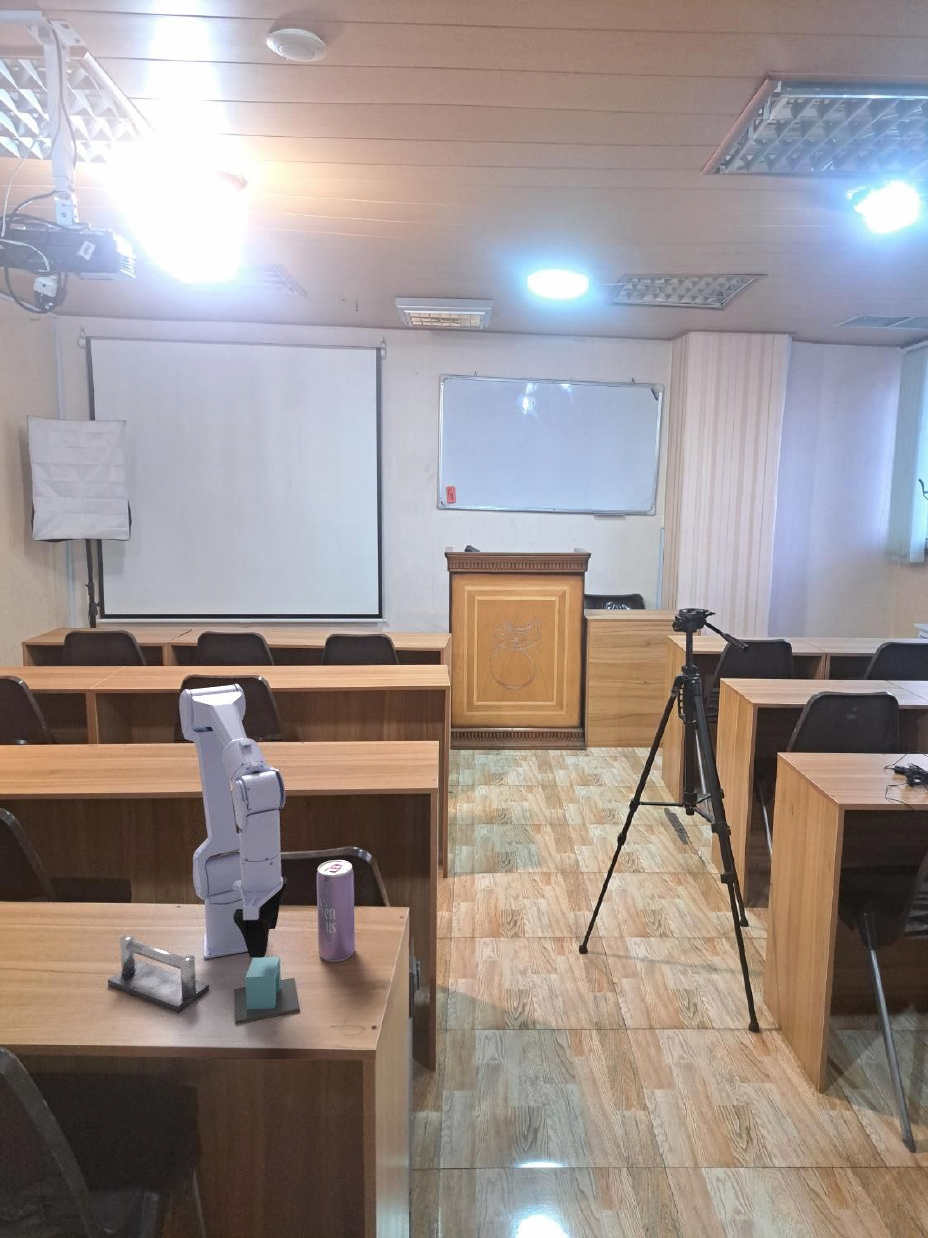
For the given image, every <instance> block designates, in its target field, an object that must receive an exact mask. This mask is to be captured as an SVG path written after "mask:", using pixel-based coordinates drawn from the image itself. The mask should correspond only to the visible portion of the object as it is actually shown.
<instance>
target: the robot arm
mask: <svg viewBox="0 0 928 1238" xmlns="http://www.w3.org/2000/svg"><path fill="white" fill-rule="evenodd" d="M246 703H247V702H246V697H245V693H244V690H243V688H242V687H241V686H240V685H239V684H238V683H233V684H231V685H221V686H213V687H205V688H204V687H203V688H194V689H188V688H187V689H183V690H182V692H181V693H180V695H179V706H178V707H179V708H178V709H179V715H180V724H181V733H182V734H183V737H184V739H185V740H187V741H190V742H193V743H194V747H195V750H196V752H197V753H196V754H197V759H198V767H199V775H200V783H201V793H202V800H203V808H204V816H205V817H204V818H205V825H206V831H207V838H206V839H205V840H204V841H203V842H202V843H201V844H200V845H199V847H197V849H195V851H194V853H193V855H192V856H193V857H192V865H193V867H192V879H193V887H194V890H195V894H196V895H197V897H198V898H200V899H201V900H204V912H205V913H204V914H205V915H204V916H205V933H204V935H203V937H204V938H203V939H204V940H203V958H204V959H212V958H217V957H218V958H219V957H223V956H224V957H225V956H230V955H235V954H240V953H248V956H249V958H250V959H253V958H262V957H266V953H267V949H268V941H269V934H270V930H275V929H276V927H277V923H278V918H279V913H280V912H279V911H280V908H281V906H280V905H281V900H282V897H283V895H284V894H283V893H284V892H285V891H284V890H285V888H286V887H287V884H288V883H289V882H288V878H287V877H286V876H282V862H281V861H282V860H281V859H282V858H281V857H282V856H281V854H282V853H281V852H282V851H281V825H280V824H281V822H280V821H281V820H280V810H279V809H283V808H284V806H285V803H286V787H285V782H284V778H283V775H282V773H281V772H280V770H279V769H278V768H274V766H273V765H268V763H267V760H266V759H265V756H264V755H263V752H262V751H261V748H260V746H259V744H258V743H257V742H256V741H255V740H254V739H252V738H248V737H247V734H246V730H245V728H244V725H243V721H242V720H244V716H245V713H246V708H247V707H246V706H247V705H246ZM237 827H238V831H239V832H237ZM237 850H239V851H237ZM233 851H237V852H233ZM229 852H232V853H229ZM224 853H228V854H224ZM220 854H223V855H220ZM215 855H219V856H215ZM213 856H215V857H213ZM210 857H211V858H210Z"/></svg>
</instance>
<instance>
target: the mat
mask: <svg viewBox="0 0 928 1238" xmlns="http://www.w3.org/2000/svg"><path fill="white" fill-rule="evenodd" d="M295 979H296V978H295V977H291V978H285V979H281V989H280V992H278V993H276V1006H275V1008H269V1009H247V1001H246V986H241V987H236V988H234V989H233V997H234V998H233V1000H234V1021H235V1022H234V1023H235V1025H238V1024H239V1025H240V1024H243V1023H244V1024H245V1023H249V1022H253V1021H259V1020H262V1019H267V1018H268V1019H269V1018H274V1017H278V1016H282V1015H289V1014H293V1013H298V1012H300V1009H301V1008H300V1004H299V1003H300V1002H299V998H298V991H297V985H296V980H295Z"/></svg>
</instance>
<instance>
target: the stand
mask: <svg viewBox="0 0 928 1238" xmlns="http://www.w3.org/2000/svg"><path fill="white" fill-rule="evenodd" d="M119 943H120V944H119V947H120V960H121V961H120V962H121V963H120V964H121V971H120V972H118V973H116V974H115V975H113V976H112V977H110V978H109V979H107V986H108V987H110V988H113V989H115V990H118V991H120V992H123V993H126V994H128V995H130V996H134V997H136V998H138V999H140V1000H141V999H142V1000H143V1001H146V1002H149V1003H150V1004H151V1003H152V1004H154V1005H156V1006H159V1007H162V1008H164V1009H167V1010H168V1011H169V1010H170V1011H172V1012H174V1013H177V1014H179V1013H181V1012H182V1011H183V1010H185V1009H187V1007H189V1006H190V1005H192V1004H193V1003H194V1002H196V1001H197V1000H199V999H200V998H202V997H203V996H204V995H206V993H208V992H210V984H209V983H207V982H202V981H200V980H198V979H197V978H196V962H195V959H196V957H195V955H192V954H188V955H185V956H181V955H178V954H175V953H173V952H169V951H167V950H163V949H160V948H157V947H154V946H153V945H149V944H146V943H143V942H141V941H137V940H135V936H134V935H133V934H126V935H124V936H122V937H120V938H119ZM136 954H137V955H140V956H142V957H145V958H147V959H150V960H154V961H157V962H159V963H162V964H164V965H168V966H171V967H173V968H176V969H179V970H180V973H178V972H176V971H172V970H169V969H167V968H164V967H161V966H157V965H155V964H153V963H150V962H147V961H144V960H141V959H140V960H138V961H137V962H136Z"/></svg>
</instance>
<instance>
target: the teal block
mask: <svg viewBox="0 0 928 1238" xmlns="http://www.w3.org/2000/svg"><path fill="white" fill-rule="evenodd" d="M281 976H282V975H281V957H280V956H269V957H268V956H265V957H262V958H252V960H251V963H250V964H249V967H248V970H247V972H246V975H245V987H246V1001H247V1009H269V1008H275V1006H276V993H278V992H280V989H281V980H282V977H281Z"/></svg>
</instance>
